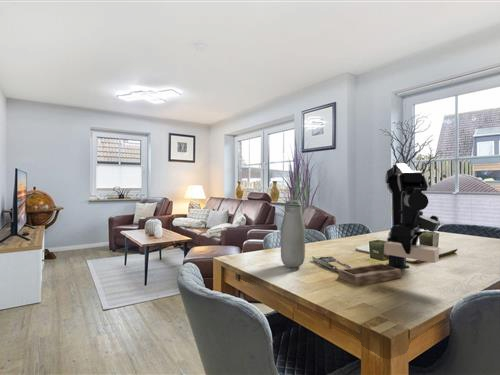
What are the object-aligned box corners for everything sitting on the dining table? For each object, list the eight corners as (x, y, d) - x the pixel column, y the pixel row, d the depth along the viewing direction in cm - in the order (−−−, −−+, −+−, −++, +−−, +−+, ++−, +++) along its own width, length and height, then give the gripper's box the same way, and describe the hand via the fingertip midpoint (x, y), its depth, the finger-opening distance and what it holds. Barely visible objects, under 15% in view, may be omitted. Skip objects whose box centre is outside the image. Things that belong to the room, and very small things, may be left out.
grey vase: (289, 271, 117) (288, 201, 117) (276, 265, 126) (276, 199, 126) (309, 268, 121) (309, 200, 121) (296, 262, 130) (296, 199, 130)
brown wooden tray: (379, 270, 118) (379, 262, 118) (401, 277, 109) (401, 269, 109) (338, 277, 109) (338, 269, 109) (358, 286, 100) (358, 277, 100)
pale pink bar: (384, 254, 107) (384, 243, 107) (389, 252, 109) (389, 241, 109) (434, 262, 95) (434, 250, 95) (438, 260, 97) (438, 248, 97)
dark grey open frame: (338, 275, 113) (361, 273, 116) (338, 266, 113) (360, 264, 116) (311, 262, 134) (330, 261, 137) (311, 255, 134) (330, 253, 137)
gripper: (428, 211, 89) (427, 262, 90) (445, 207, 102) (445, 252, 102) (390, 209, 98) (390, 256, 98) (410, 205, 110) (410, 247, 111)
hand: (410, 252), depth 102 cm, fingers closed on pale pink bar, 4 cm apart
